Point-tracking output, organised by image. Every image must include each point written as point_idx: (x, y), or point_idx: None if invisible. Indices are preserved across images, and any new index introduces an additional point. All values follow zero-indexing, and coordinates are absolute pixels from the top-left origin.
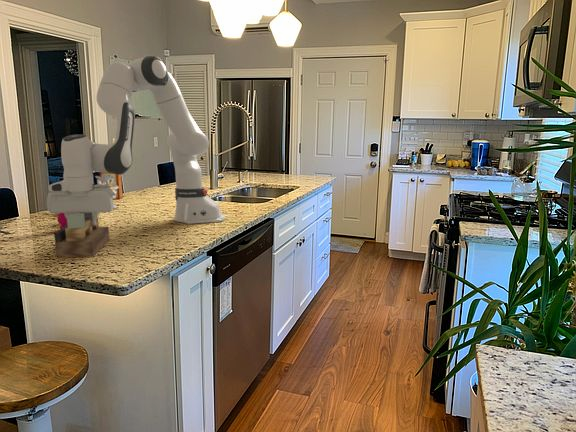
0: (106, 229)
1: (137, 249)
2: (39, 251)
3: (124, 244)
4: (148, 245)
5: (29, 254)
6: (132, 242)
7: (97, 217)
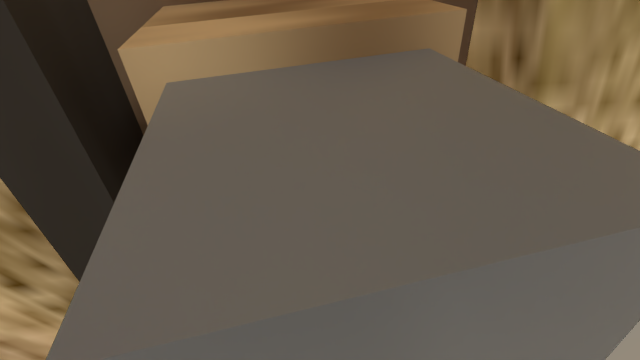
0: (461, 42)
1: None
2: (19, 270)
3: (514, 85)
4: (632, 102)
5: (16, 315)
6: (569, 31)
7: (453, 49)
